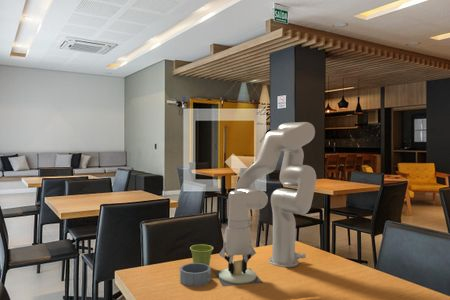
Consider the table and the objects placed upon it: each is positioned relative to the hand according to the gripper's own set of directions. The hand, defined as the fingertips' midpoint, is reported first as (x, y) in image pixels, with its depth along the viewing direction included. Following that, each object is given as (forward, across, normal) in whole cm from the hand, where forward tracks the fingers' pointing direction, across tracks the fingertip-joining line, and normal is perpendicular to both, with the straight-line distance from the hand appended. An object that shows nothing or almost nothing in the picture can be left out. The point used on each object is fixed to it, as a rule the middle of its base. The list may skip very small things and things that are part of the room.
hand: (237, 272), depth 134 cm
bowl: (+2, +16, 0) cm, 16 cm away
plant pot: (+3, +11, -12) cm, 17 cm away
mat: (+2, 0, 0) cm, 2 cm away
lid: (+2, 0, 0) cm, 2 cm away
